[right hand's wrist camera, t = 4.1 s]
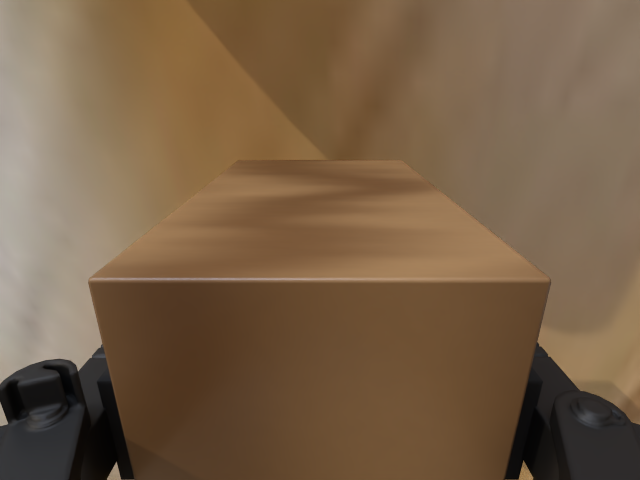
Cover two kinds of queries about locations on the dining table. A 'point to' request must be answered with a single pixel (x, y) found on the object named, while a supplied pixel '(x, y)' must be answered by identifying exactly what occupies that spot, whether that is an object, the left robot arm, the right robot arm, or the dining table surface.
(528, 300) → the brick
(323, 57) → the dining table surface
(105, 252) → the dining table surface
